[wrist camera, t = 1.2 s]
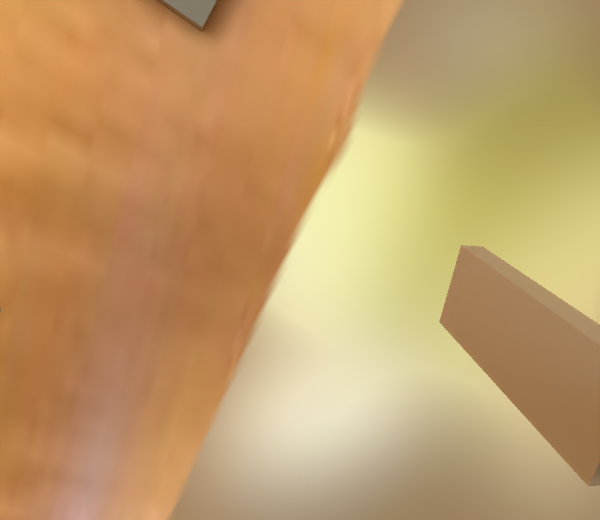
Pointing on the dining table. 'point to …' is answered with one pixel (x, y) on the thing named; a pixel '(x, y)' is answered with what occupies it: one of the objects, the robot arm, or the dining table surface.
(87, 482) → the dining table surface
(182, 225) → the dining table surface
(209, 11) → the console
